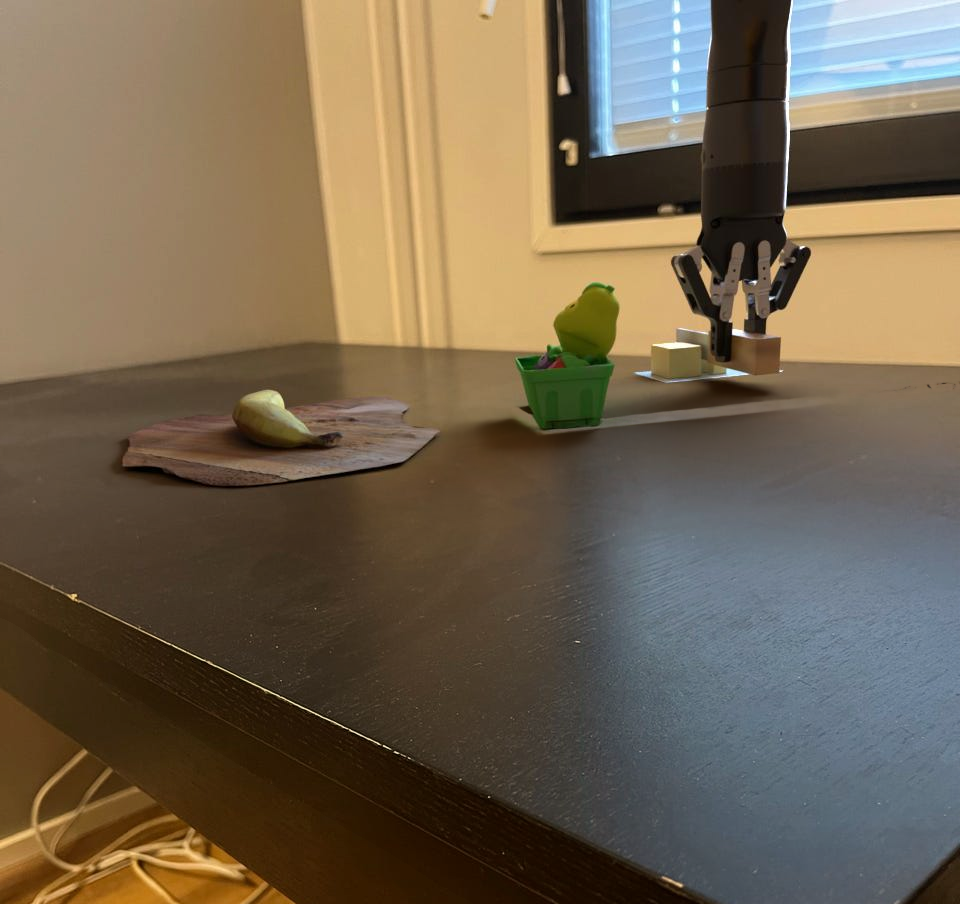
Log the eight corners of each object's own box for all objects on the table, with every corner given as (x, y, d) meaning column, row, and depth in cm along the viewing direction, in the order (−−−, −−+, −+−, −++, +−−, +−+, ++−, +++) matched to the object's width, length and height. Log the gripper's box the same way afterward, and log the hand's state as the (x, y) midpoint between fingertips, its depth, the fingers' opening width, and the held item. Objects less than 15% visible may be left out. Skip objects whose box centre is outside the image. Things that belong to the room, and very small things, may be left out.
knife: (779, 373, 90) (781, 336, 89) (755, 375, 90) (757, 339, 88) (687, 351, 108) (688, 321, 107) (667, 353, 108) (667, 323, 106)
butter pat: (706, 368, 107) (706, 339, 106) (726, 373, 102) (727, 343, 101) (693, 369, 107) (693, 340, 105) (713, 374, 102) (714, 344, 101)
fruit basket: (515, 412, 92) (510, 285, 88) (609, 405, 93) (608, 278, 88) (525, 433, 82) (519, 290, 78) (631, 426, 82) (631, 283, 78)
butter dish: (742, 369, 110) (742, 362, 110) (783, 378, 102) (783, 370, 101) (633, 380, 107) (632, 372, 107) (665, 390, 99) (665, 382, 99)
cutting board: (129, 427, 99) (122, 388, 97) (395, 399, 105) (392, 362, 104) (110, 504, 67) (98, 448, 66) (490, 457, 74) (487, 406, 72)
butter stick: (681, 370, 106) (681, 341, 105) (701, 375, 102) (701, 345, 101) (650, 373, 106) (650, 344, 104) (669, 378, 101) (669, 348, 100)
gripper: (690, 162, 84) (686, 370, 90) (837, 154, 86) (823, 357, 93) (656, 169, 91) (654, 362, 97) (793, 162, 93) (783, 351, 100)
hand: (737, 359), depth 95 cm, fingers closed on knife, 2 cm apart
